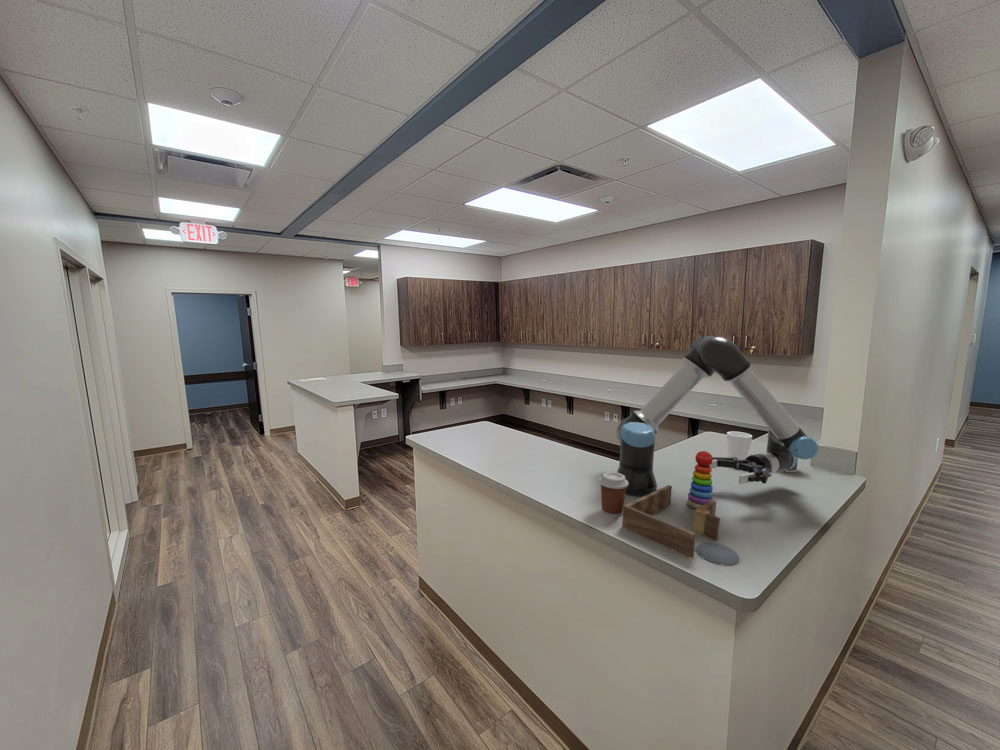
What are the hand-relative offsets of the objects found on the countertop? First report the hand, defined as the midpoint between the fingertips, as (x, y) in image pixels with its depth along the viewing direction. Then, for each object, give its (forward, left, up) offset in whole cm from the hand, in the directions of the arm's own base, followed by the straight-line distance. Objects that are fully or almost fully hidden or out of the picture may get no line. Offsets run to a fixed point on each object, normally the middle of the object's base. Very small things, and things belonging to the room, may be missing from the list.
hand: (720, 472), depth 134 cm
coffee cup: (-35, -18, -11) cm, 41 cm away
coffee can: (+35, +46, -11) cm, 58 cm away
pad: (-8, -35, -10) cm, 38 cm away
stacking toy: (-7, -5, -11) cm, 14 cm away
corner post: (-10, -24, -11) cm, 28 cm away
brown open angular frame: (-16, -23, -10) cm, 30 cm away
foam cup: (+18, +47, -11) cm, 51 cm away
